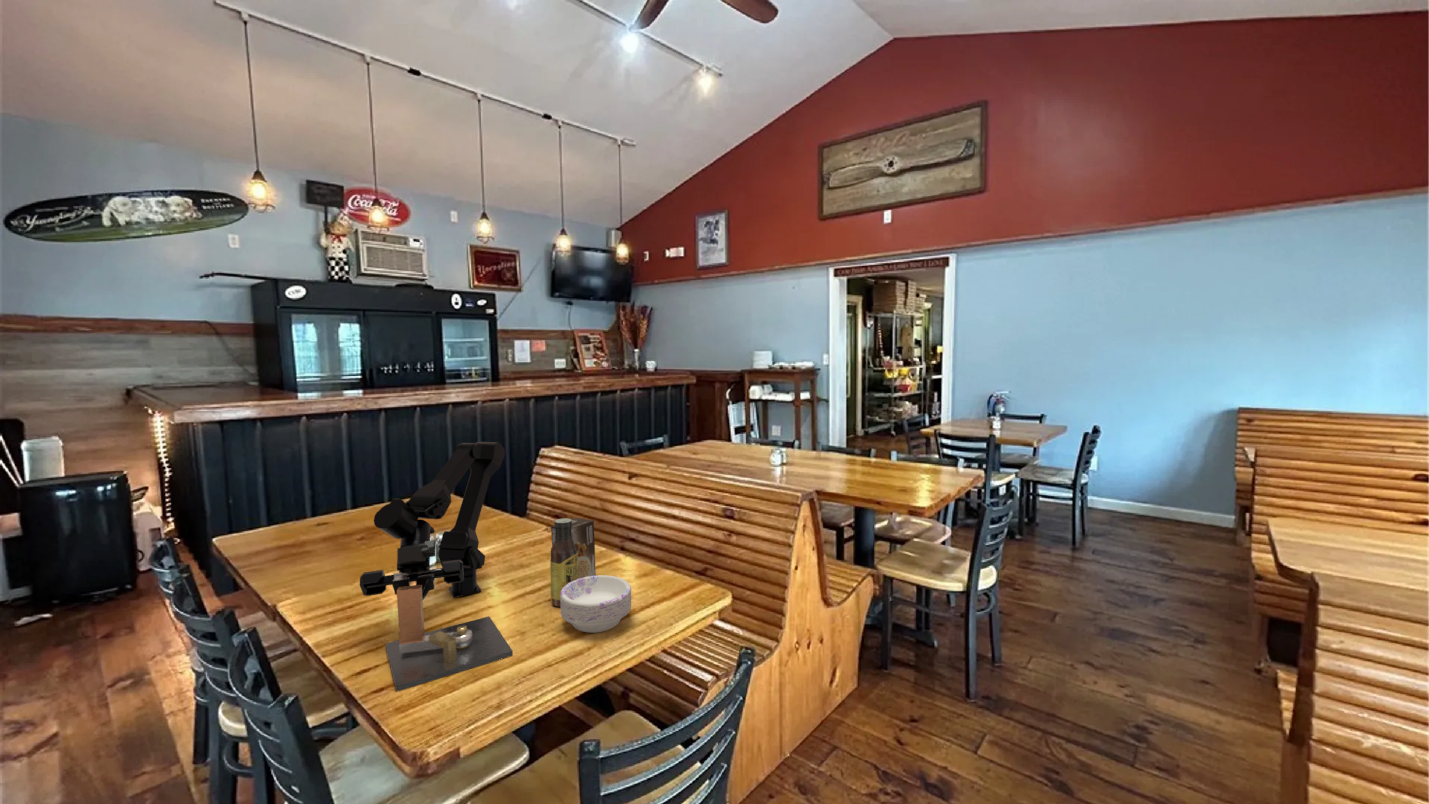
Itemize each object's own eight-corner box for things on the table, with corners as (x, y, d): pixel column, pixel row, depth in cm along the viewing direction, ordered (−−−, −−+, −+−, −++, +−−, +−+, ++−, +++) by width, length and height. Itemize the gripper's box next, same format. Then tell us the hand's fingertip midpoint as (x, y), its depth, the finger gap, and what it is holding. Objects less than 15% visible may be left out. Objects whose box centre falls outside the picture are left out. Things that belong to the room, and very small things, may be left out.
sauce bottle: (571, 609, 130) (568, 525, 129) (546, 607, 132) (543, 524, 130) (583, 597, 137) (580, 517, 135) (559, 595, 138) (556, 516, 136)
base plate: (385, 648, 114) (385, 643, 114) (489, 620, 125) (489, 616, 125) (396, 691, 99) (396, 686, 99) (512, 655, 111) (512, 650, 110)
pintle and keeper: (471, 645, 114) (470, 621, 114) (465, 665, 107) (464, 640, 107) (434, 650, 113) (432, 626, 112) (425, 671, 105) (424, 645, 105)
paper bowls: (618, 643, 115) (617, 605, 115) (548, 637, 118) (547, 600, 117) (640, 609, 130) (640, 576, 129) (578, 605, 133) (577, 572, 132)
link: (473, 636, 115) (470, 577, 114) (470, 645, 111) (468, 584, 110) (403, 645, 111) (400, 585, 110) (398, 655, 108) (395, 592, 107)
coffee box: (578, 575, 151) (577, 516, 149) (596, 580, 147) (595, 520, 146) (552, 587, 143) (550, 525, 141) (570, 593, 139) (568, 529, 138)
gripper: (358, 533, 112) (350, 610, 103) (460, 522, 120) (462, 592, 110) (367, 559, 120) (360, 632, 111) (463, 547, 127) (464, 614, 118)
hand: (412, 617), depth 112 cm, fingers closed
